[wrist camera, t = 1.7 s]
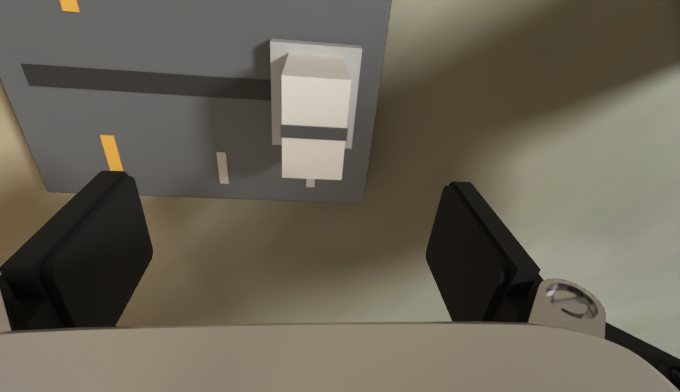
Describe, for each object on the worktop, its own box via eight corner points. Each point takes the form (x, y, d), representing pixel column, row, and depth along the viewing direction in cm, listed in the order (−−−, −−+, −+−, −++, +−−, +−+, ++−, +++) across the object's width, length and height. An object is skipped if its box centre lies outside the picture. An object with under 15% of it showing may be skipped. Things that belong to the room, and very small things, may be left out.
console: (389, -55, 20) (400, -59, 18) (359, 183, 29) (363, 204, 26) (-25, -100, 18) (-82, -112, 16) (73, 171, 27) (47, 192, 24)
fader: (360, 45, 20) (376, 70, 15) (350, 142, 23) (360, 190, 18) (271, 38, 20) (256, 61, 15) (273, 138, 23) (261, 186, 18)
